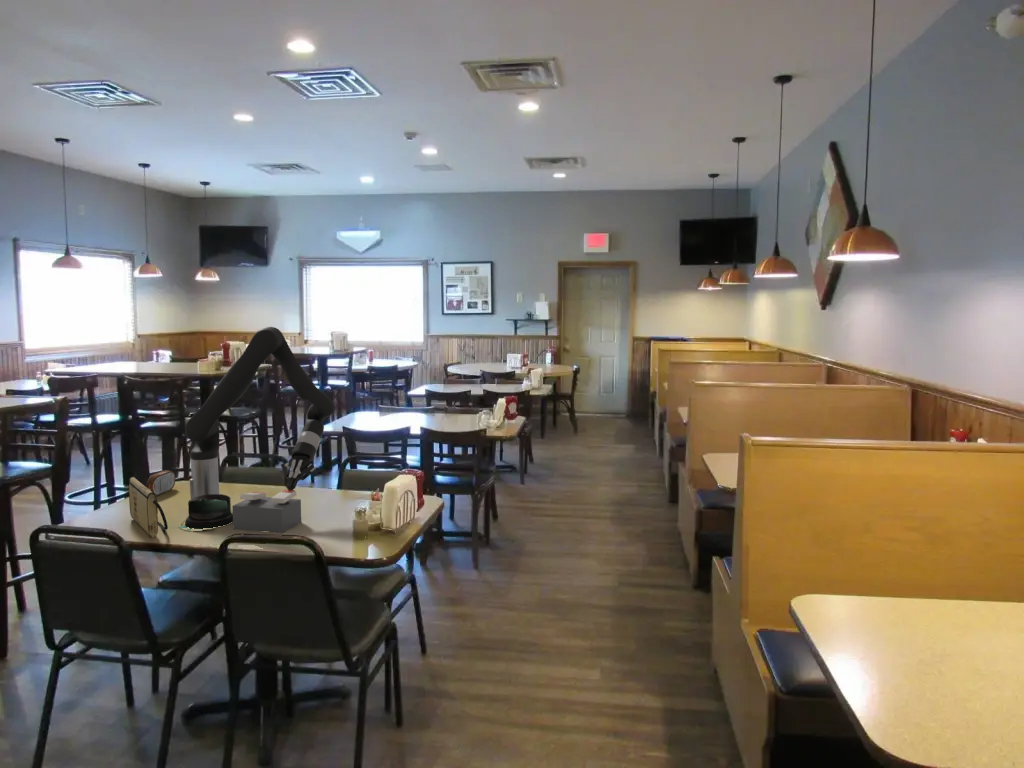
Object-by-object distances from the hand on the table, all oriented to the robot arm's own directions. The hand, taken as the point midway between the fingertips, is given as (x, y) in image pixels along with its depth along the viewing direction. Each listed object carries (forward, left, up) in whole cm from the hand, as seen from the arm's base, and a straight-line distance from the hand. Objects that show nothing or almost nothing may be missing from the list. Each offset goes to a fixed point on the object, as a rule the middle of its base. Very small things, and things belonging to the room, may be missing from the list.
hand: (289, 489), depth 235 cm
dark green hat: (-27, +4, -12) cm, 30 cm away
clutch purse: (-46, +1, -12) cm, 47 cm away
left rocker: (-12, -1, -2) cm, 12 cm away
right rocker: (-1, -3, -2) cm, 4 cm away
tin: (-57, +44, -12) cm, 74 cm away
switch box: (-7, -3, -12) cm, 14 cm away
